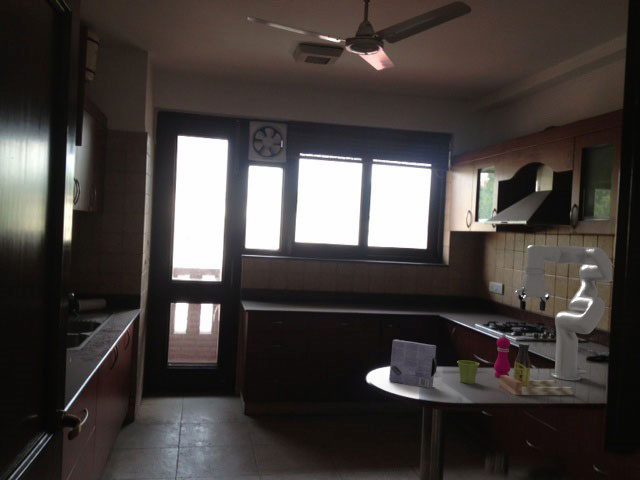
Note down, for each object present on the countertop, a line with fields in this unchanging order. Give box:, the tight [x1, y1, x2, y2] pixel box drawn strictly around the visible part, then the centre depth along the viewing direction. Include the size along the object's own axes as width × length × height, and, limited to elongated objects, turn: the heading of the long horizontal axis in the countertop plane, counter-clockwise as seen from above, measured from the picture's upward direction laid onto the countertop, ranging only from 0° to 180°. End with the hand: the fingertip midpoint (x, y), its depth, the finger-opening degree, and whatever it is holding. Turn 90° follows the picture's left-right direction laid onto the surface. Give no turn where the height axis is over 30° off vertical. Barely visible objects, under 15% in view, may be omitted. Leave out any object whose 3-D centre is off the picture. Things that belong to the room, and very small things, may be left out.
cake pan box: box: [388, 339, 438, 389], centre depth 235 cm, size 19×5×18 cm, turn 64°
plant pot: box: [456, 360, 480, 385], centre depth 244 cm, size 9×9×9 cm
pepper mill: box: [493, 333, 511, 379], centre depth 258 cm, size 7×7×20 cm
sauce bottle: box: [512, 342, 531, 387], centre depth 234 cm, size 6×6×20 cm
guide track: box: [499, 375, 573, 396], centre depth 235 cm, size 26×12×5 cm, turn 101°
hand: (532, 310), depth 252 cm, fingers open, 9 cm apart
